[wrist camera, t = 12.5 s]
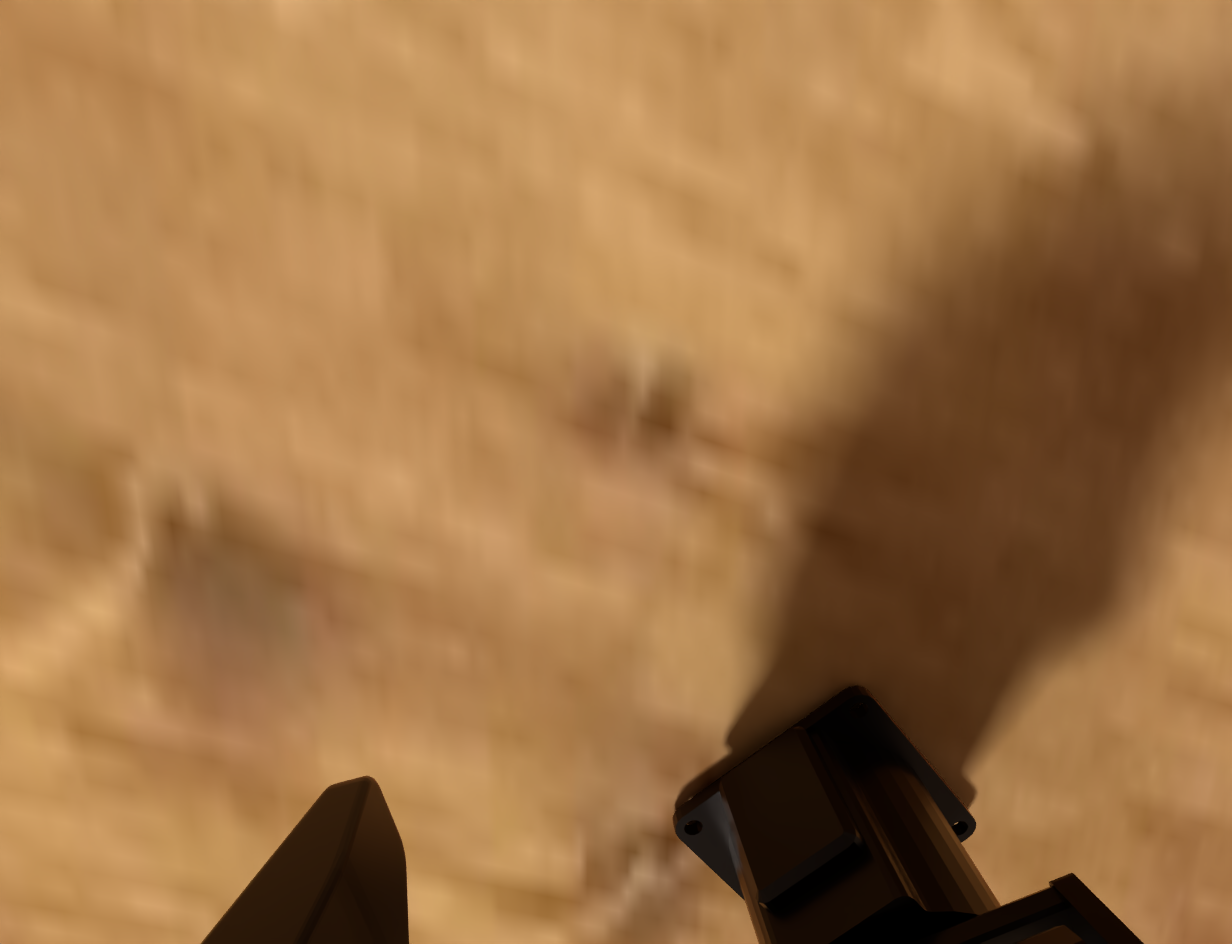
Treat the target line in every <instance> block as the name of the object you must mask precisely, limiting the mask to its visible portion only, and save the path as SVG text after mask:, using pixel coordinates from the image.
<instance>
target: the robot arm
mask: <svg viewBox="0 0 1232 944" xmlns="http://www.w3.org/2000/svg"><path fill="white" fill-rule="evenodd" d="M856 703H862V704H861V705H860V706H859V707H858V708H856V709H854V710H851V709H850V708H851V707H852V706H853V705H854V704H856ZM692 820H697V822H696V823H694V824H692V825H687V823H688V822H690V821H692ZM957 822H958V823H957ZM955 823H957V824H955ZM673 824H674V828H675V832H676V834H677V836H678V837H679V839H680V840H681V841H683V842H684V843H685V844H686V845H687V846H688V847H689V848H690V849H691V850H692V851H693V852H694V853H695V854H696V855H697V856H698V857H699V858H700V859H701V860H703V861H704V862H705V863H706V864H707V865H708V866H709V867H710V868H711V869H712V870H713V871H714V872H715V873H716V874H717V875H718V876H719V877H720V878H721V879H723V880H724V881H725V882H726V883H727V884H728V885H729V886H730V887H731V888H732V889H733V890H734V891H735V892H736V893H737V894H738V895H739V896H740V897H742V898H743V899H744V900H745V902H746V905H747V908H748V911H749V914H750V917H751V921H752V924H753V927H754V930H755V933H756V936H757V939H758V942H759V944H1144V943H1143V942H1142V941H1141V940H1140V939H1139V938H1138V937H1137V936H1136V935H1135V934H1134V933H1133V932H1132V931H1131V930H1130V929H1129V928H1128V927H1127V926H1126V925H1125V924H1124V923H1123V922H1122V921H1121V920H1120V919H1119V918H1118V917H1117V916H1116V915H1115V914H1114V913H1113V912H1112V911H1111V910H1110V909H1109V908H1108V907H1107V906H1106V905H1105V904H1104V903H1103V902H1102V901H1100V900H1099V899H1098V898H1097V897H1096V896H1095V895H1094V894H1093V893H1092V892H1091V891H1090V890H1089V889H1088V888H1087V887H1086V886H1085V885H1084V884H1083V883H1082V882H1081V881H1080V880H1079V879H1078V878H1077V877H1076V876H1075V875H1074V874H1073V873H1070V874H1068V875H1065V876H1063V877H1060V878H1058V879H1055V880H1053V881H1050V882H1049V885H1050V887H1048V888H1045V889H1043V890H1040V891H1038V892H1035V893H1033V894H1030V895H1028V896H1025V897H1023V898H1020V899H1018V900H1015V901H1013V902H1010V903H1008V904H1005V905H1003V906H1001V905H1000V904H999V902H998V900H997V899H996V897H995V896H994V894H993V893H992V891H991V889H990V888H989V886H988V885H987V883H986V882H985V880H984V878H983V877H982V875H981V874H980V872H979V871H978V869H977V867H976V866H975V864H974V863H973V861H972V860H971V858H970V856H969V855H968V853H967V852H966V850H965V849H964V847H963V845H962V844H961V842H963V841H964V840H966V839H967V838H969V837H970V836H971V835H972V834H973V832H974V830H975V829H976V822H975V820H974V818H973V816H972V815H971V813H970V812H969V810H968V809H967V808H966V806H965V805H964V804H963V803H962V802H961V800H960V799H959V798H958V797H957V796H956V795H955V793H954V792H953V791H952V790H951V789H950V787H949V786H948V785H947V784H946V783H945V781H944V780H943V779H942V778H941V777H940V775H939V774H938V773H937V772H936V771H935V769H934V768H933V767H932V766H931V765H930V763H929V762H928V761H927V760H926V759H925V758H924V756H923V755H922V754H921V753H920V752H919V750H918V749H917V748H916V747H915V746H914V744H913V743H912V742H911V741H910V740H909V738H908V737H907V736H906V735H905V734H904V732H903V731H902V730H901V729H900V728H899V726H898V725H897V724H896V723H895V722H894V721H893V719H892V718H891V717H890V716H889V715H888V713H887V712H886V711H885V710H884V709H883V707H882V706H881V705H880V704H879V703H878V701H877V700H876V699H875V698H874V697H873V695H872V694H871V693H870V692H869V691H868V690H867V689H865V688H864V687H861V686H852V687H849V688H847V689H845V690H843V691H841V692H840V693H839V694H837V695H836V696H834V697H833V698H832V699H830V700H829V701H827V702H826V703H825V704H823V705H822V706H820V707H819V708H818V709H816V710H815V711H813V712H812V713H811V714H809V715H808V716H806V717H805V718H804V719H802V720H801V721H799V722H798V723H797V724H795V725H794V726H792V727H791V728H790V729H788V730H787V731H785V732H784V733H783V734H781V735H780V736H778V737H777V738H776V739H774V740H773V741H771V742H770V743H769V744H767V745H766V746H764V747H763V748H762V749H760V750H759V751H757V752H756V753H755V754H753V755H752V756H750V757H749V758H748V759H746V760H745V761H743V762H742V763H741V764H739V765H738V766H736V767H735V768H734V769H732V770H731V771H729V772H728V773H727V774H725V775H724V776H722V777H721V778H720V779H718V780H717V781H715V782H714V783H713V784H711V785H710V786H708V787H707V788H706V789H704V790H703V791H701V792H700V793H699V794H697V795H696V796H694V797H693V798H692V799H690V800H689V801H687V802H686V803H685V804H683V805H682V806H680V807H679V808H678V809H677V810H676V811H675V813H674V815H673ZM954 824H955V825H954ZM201 944H409V930H408V902H407V874H406V859H405V852H404V847H403V844H402V840H401V837H400V835H399V832H398V830H397V827H396V825H395V823H394V820H393V818H392V815H391V813H390V811H389V808H388V806H387V803H386V801H385V798H384V796H383V794H382V791H381V789H380V787H379V785H378V783H377V782H376V781H375V779H374V778H372V777H369V776H363V777H359V778H355V779H352V780H348V781H344V782H340V783H337V784H334V785H331V786H329V787H328V788H327V789H326V790H325V791H324V792H323V793H322V794H321V796H320V797H319V798H318V799H317V801H316V802H315V803H314V804H313V805H312V807H311V808H310V809H309V810H308V812H307V813H306V814H305V815H304V817H303V818H302V819H301V820H300V822H299V823H298V824H297V825H296V826H295V828H294V829H293V830H292V831H291V833H290V834H289V835H288V836H287V838H286V839H285V840H284V841H283V843H282V844H281V845H280V846H279V847H278V849H277V850H276V851H275V852H274V854H273V855H272V856H271V857H270V859H269V860H268V861H267V862H266V864H265V865H264V866H263V867H262V868H261V870H260V871H259V872H258V873H257V875H256V876H255V877H254V878H253V880H252V881H251V882H250V883H249V885H248V886H247V887H246V888H245V890H244V891H243V892H242V893H241V894H240V896H239V897H238V898H237V899H236V901H235V902H234V903H233V904H232V906H231V907H230V908H229V909H228V911H227V912H226V913H225V914H224V915H223V917H222V918H221V919H220V920H219V922H218V923H217V924H216V925H215V927H214V928H213V929H212V930H211V932H210V933H209V934H208V935H207V936H206V938H205V939H204V940H203V941H202V943H201Z"/></svg>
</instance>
